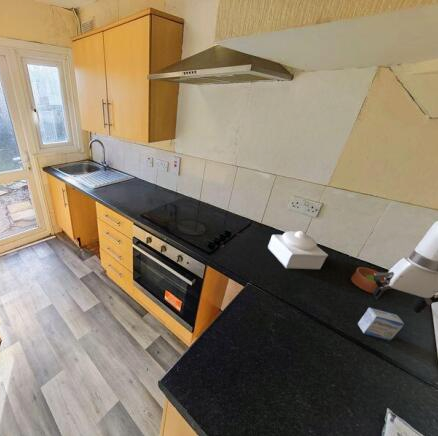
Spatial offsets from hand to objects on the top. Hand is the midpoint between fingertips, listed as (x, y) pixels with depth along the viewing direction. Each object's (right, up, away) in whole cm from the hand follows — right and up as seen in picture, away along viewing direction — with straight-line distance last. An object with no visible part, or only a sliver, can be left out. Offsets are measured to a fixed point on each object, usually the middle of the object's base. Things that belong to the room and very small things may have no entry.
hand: (394, 303), depth 73 cm
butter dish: (-5, +7, +44) cm, 45 cm away
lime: (+18, 0, +27) cm, 33 cm away
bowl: (+18, -3, +28) cm, 34 cm away
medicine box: (-1, -13, +7) cm, 14 cm away
